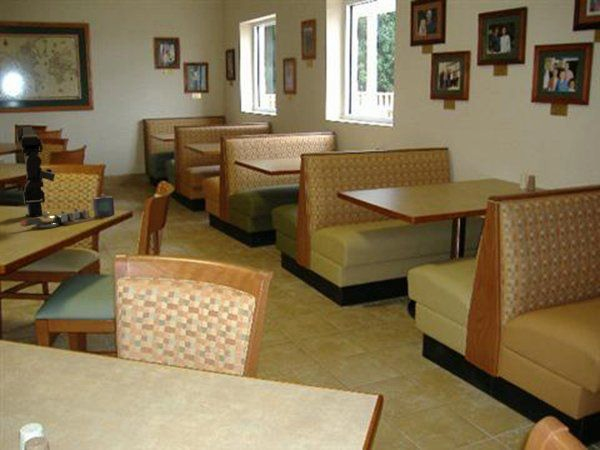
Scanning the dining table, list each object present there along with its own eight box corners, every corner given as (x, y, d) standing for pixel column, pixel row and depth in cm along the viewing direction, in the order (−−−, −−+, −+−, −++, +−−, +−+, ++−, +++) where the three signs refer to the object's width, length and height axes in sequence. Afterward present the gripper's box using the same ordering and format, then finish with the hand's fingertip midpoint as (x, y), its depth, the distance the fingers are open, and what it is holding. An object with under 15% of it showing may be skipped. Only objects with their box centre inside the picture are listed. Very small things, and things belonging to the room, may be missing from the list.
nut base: (30, 227, 270) (28, 212, 268) (50, 222, 278) (48, 208, 276) (44, 229, 264) (42, 215, 263) (64, 225, 272) (62, 211, 271)
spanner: (54, 220, 274) (53, 214, 274) (83, 215, 287) (83, 209, 286) (61, 222, 271) (61, 215, 271) (90, 217, 284) (90, 210, 284)
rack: (55, 223, 277) (54, 212, 276) (81, 217, 289) (80, 206, 287) (68, 225, 272) (67, 214, 271) (94, 219, 284) (93, 209, 283)
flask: (94, 217, 288) (93, 195, 286) (94, 216, 291) (92, 194, 289) (115, 215, 292) (113, 193, 290) (114, 214, 295) (112, 192, 292)
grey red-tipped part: (50, 219, 275) (49, 214, 275) (58, 221, 271) (58, 216, 270) (16, 225, 264) (16, 219, 263) (25, 228, 259) (24, 222, 259)
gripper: (54, 166, 262) (57, 202, 265) (51, 161, 278) (54, 195, 282) (25, 168, 257) (29, 204, 261) (24, 162, 273) (28, 197, 277)
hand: (36, 200), depth 270 cm, fingers closed
